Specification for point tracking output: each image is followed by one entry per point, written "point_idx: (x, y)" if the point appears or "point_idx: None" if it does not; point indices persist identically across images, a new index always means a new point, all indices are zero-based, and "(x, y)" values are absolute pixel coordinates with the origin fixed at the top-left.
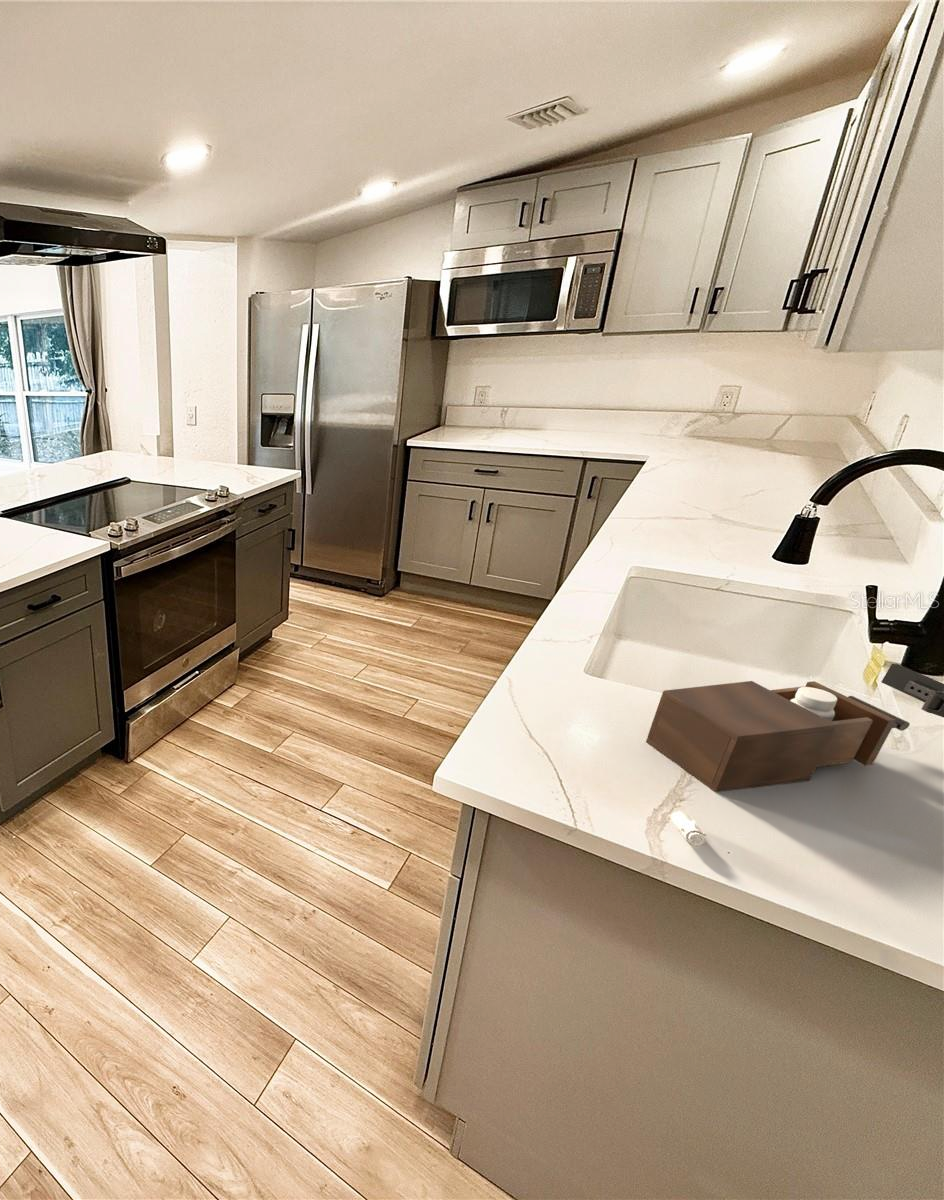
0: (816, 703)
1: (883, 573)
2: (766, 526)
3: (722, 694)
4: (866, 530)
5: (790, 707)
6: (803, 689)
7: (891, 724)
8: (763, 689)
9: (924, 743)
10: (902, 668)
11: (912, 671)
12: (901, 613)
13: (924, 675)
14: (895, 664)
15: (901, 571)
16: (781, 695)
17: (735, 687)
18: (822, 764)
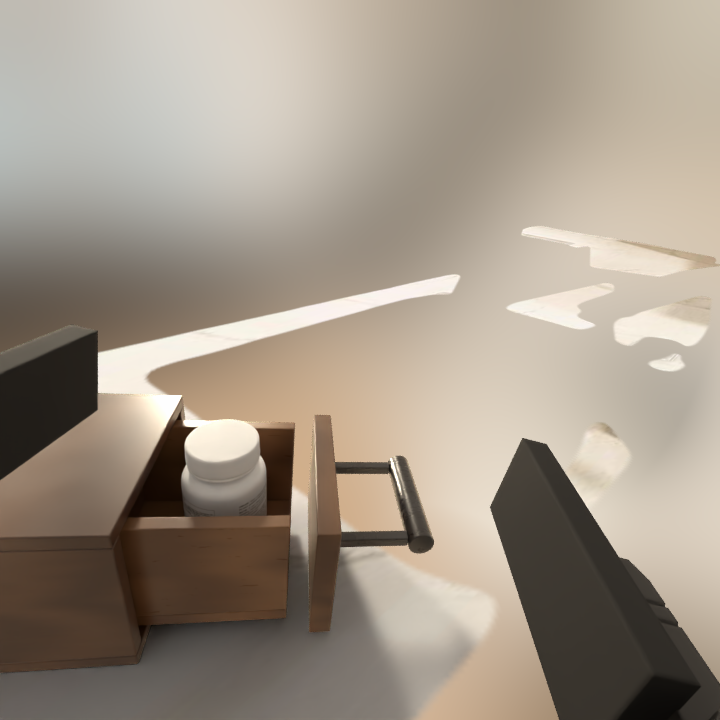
0: (189, 462)
1: (685, 331)
2: (613, 287)
3: None
4: (698, 302)
5: (111, 464)
6: (217, 424)
7: (330, 544)
8: (160, 414)
9: None
10: (35, 339)
11: (21, 352)
12: (671, 366)
13: (4, 372)
14: (75, 328)
15: (704, 332)
16: None
17: (110, 403)
18: (199, 620)
